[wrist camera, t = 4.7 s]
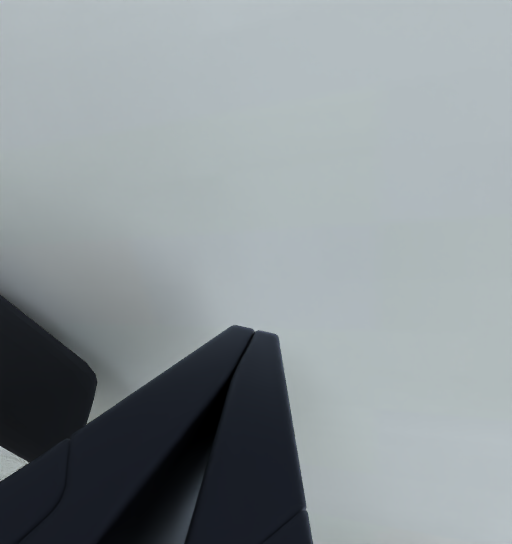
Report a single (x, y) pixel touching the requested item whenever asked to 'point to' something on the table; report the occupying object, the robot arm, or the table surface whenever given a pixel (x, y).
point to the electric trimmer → (39, 387)
